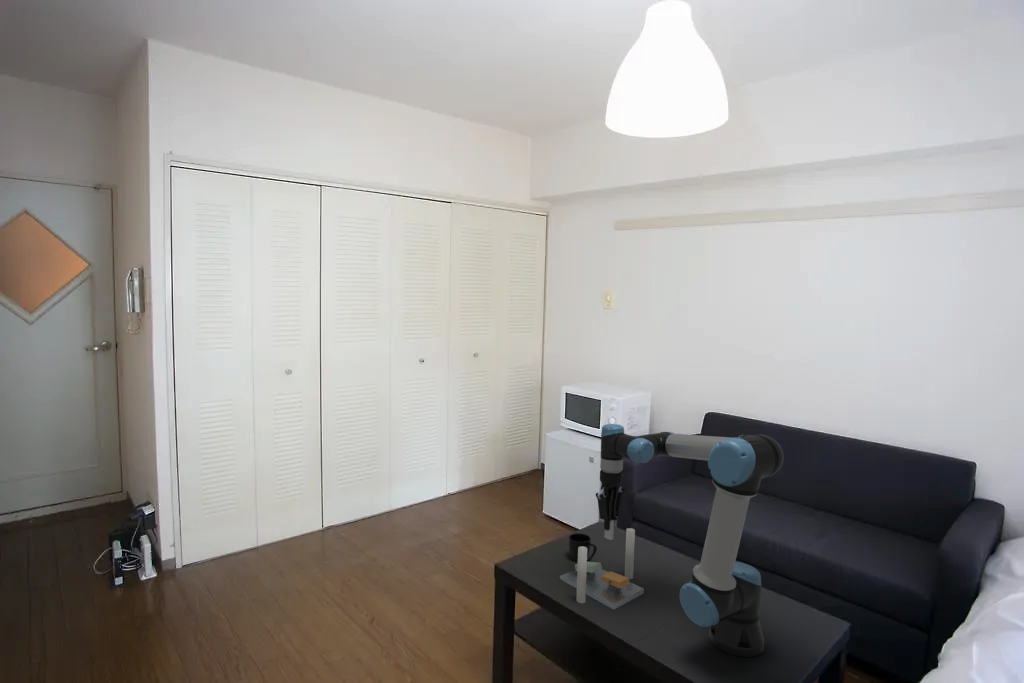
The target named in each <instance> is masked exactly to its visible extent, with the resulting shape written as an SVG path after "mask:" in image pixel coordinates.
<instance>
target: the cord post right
mask: <svg viewBox="0 0 1024 683" xmlns="http://www.w3.org/2000/svg"><path fill="white" fill-rule="evenodd" d="M625 531H626V532H625V533H626V534H625V555H624V556H625V557H624V576H625V577H628V578H629V580H633V579H634V568H635V567H634V565H635V562H634V561H635V537H636V529H634V528H632V527H630V528H628V527H627V528H626V529H625Z"/></svg>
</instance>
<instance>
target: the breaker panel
mask: <svg viewBox="0 0 1024 683" xmlns="http://www.w3.org/2000/svg"><path fill="white" fill-rule="evenodd" d="M608 572H609V571H607V570H605V569H603V568H602V569H600V570H598V571H596V572H593V573H590V572H587V573H586V596H589V597H590V598H592V599H594V600H595V601H598V602H599V603H601V604H602V605H604V606H606V607H607V608H609V609H612V610H616V609H618V608H619V607H621V606H624V605H625V604H627V603H629V602H631V601H632V600H635V599H636V598H638V597H640V596H642V595H643V594H645V593H644V591H645V588H644V587H641V586H639V585H637V584H635V583H633V582H631V581H629V585H626V586H624V587H622V588H617V587H615V586H612V585H610V584H607V583H604V582H602V581H601V575H603V574H605V573H608ZM559 580H560V581H562V582H563V583H566V584H567V585H569V586H571V587H573V588H575V589H576V590H577V571H576V569H573V570H571V571H568V572H566V573H564V574H561V575H559Z"/></svg>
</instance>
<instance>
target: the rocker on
mask: <svg viewBox="0 0 1024 683" xmlns="http://www.w3.org/2000/svg"><path fill="white" fill-rule="evenodd" d="M577 567H578V563H576V564H574V568H575V569H574V570H576V571H577ZM600 569H603V566H602V563H601V562H596V561H590V562H587V572H590V573H593V572H596V571H598V570H600Z"/></svg>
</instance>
